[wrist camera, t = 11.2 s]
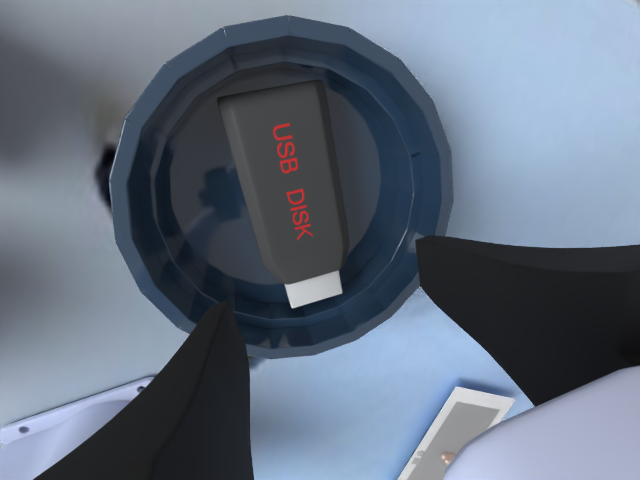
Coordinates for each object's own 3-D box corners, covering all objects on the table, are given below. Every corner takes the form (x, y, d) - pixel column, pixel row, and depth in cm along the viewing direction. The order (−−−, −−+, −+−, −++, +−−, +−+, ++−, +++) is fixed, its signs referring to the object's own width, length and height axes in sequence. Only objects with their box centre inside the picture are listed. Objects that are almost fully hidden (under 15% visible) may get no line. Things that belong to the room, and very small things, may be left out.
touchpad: (506, 390, 31) (525, 408, 29) (433, 499, 34) (445, 522, 32) (448, 377, 28) (464, 396, 26) (374, 496, 32) (383, 521, 30)
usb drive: (314, 81, 17) (328, 73, 15) (347, 274, 22) (362, 294, 19) (216, 99, 16) (213, 94, 14) (272, 296, 21) (277, 320, 18)
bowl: (201, 346, 21) (193, 398, 17) (81, 79, 15) (24, 61, 11) (420, 273, 24) (459, 303, 20) (395, 19, 18) (444, -14, 13)
